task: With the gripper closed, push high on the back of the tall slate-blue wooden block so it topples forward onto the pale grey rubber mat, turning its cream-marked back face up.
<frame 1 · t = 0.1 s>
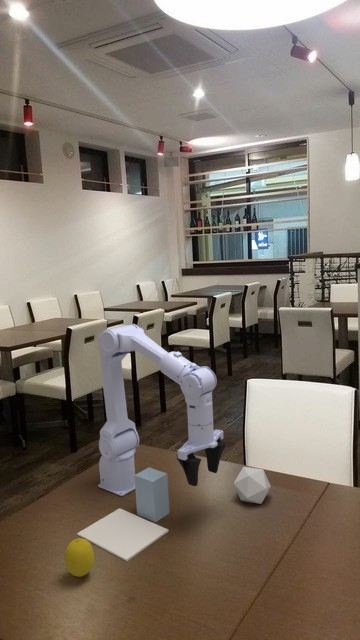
hand: (203, 478, 113), 10 cm above the table, tool pointing down, fingers open, 7 cm apart
lemon: (81, 577, 96), on the table
mat: (122, 533, 110), on the table
block: (153, 513, 118), on the table
die: (252, 500, 122), on the table
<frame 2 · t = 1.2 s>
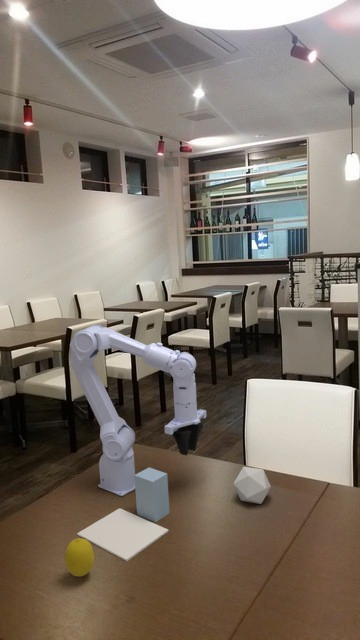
hand: (187, 452, 127), 10 cm above the table, tool pointing down, fingers open, 3 cm apart
nothing on the table moved.
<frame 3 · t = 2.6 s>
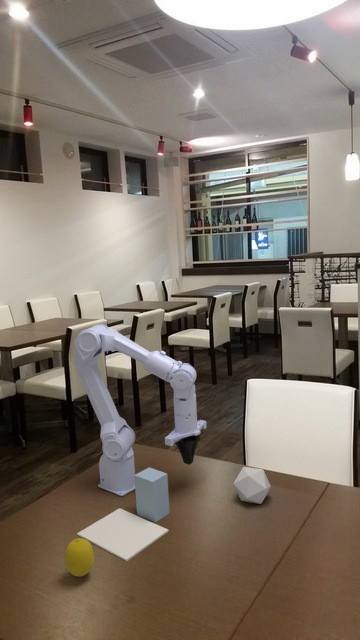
hand: (188, 462, 127), 7 cm above the table, tool pointing down, fingers closed
nothing on the table moved.
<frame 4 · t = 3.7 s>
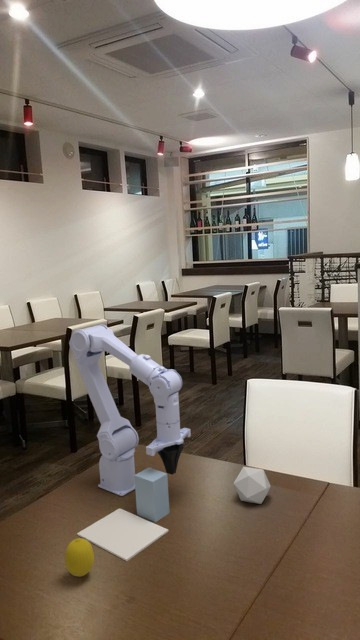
hand: (171, 472, 122), 7 cm above the table, tool pointing down, fingers closed
nothing on the table moved.
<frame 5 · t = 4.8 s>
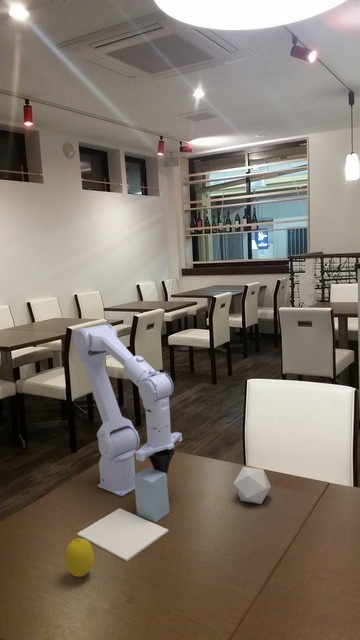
hand: (161, 478, 119), 8 cm above the table, tool pointing down, fingers closed
block: (153, 513, 118), on the table, touching gripper
everything else where it was.
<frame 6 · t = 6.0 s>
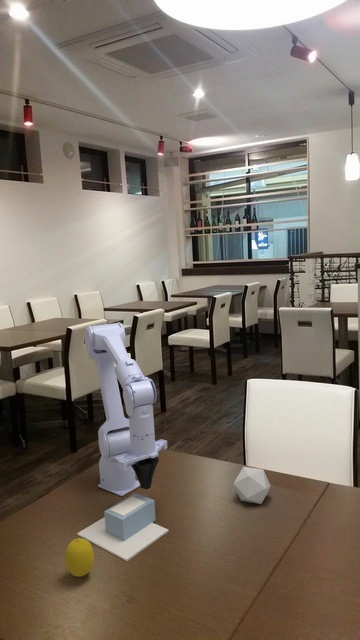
hand: (145, 487, 115), 8 cm above the table, tool pointing down, fingers closed
block: (145, 506, 116), point 3 cm above the table, tilted 90°, touching mat
everything else where it was.
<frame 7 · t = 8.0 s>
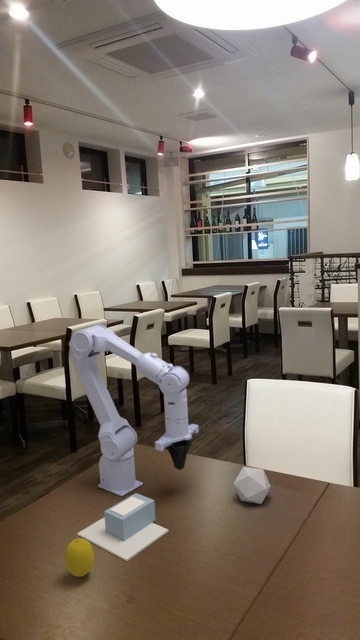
hand: (179, 467, 124), 8 cm above the table, tool pointing down, fingers closed
nothing on the table moved.
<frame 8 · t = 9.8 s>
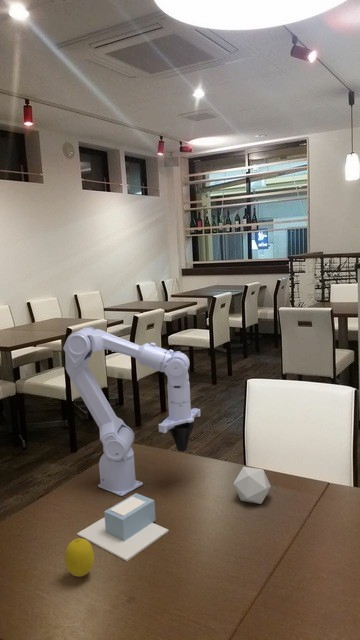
hand: (181, 450, 128), 10 cm above the table, tool pointing down, fingers closed
nothing on the table moved.
at the end: block tilted 90°; block touching mat; the gripper is holding nothing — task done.
